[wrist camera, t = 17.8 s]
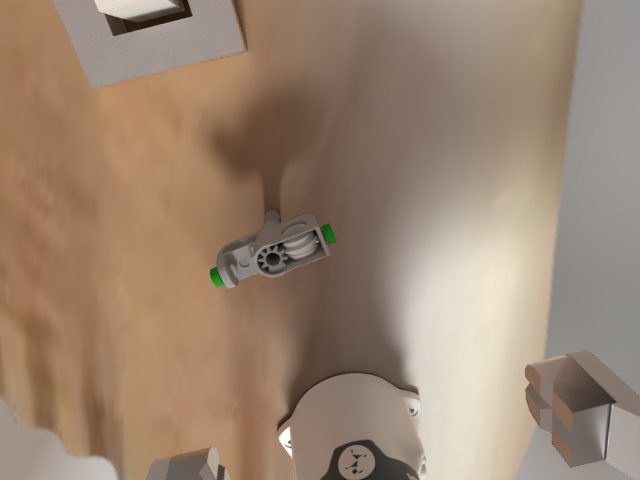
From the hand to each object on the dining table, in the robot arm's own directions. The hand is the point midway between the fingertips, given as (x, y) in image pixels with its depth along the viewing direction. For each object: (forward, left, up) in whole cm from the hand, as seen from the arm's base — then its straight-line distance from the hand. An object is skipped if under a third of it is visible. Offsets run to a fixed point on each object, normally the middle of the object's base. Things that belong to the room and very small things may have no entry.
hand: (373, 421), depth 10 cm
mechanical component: (-5, +4, -31) cm, 32 cm away
